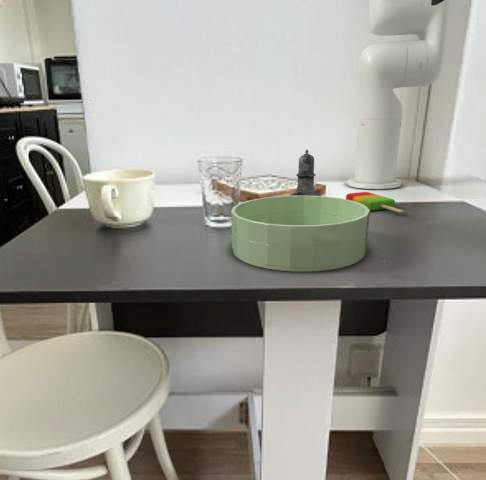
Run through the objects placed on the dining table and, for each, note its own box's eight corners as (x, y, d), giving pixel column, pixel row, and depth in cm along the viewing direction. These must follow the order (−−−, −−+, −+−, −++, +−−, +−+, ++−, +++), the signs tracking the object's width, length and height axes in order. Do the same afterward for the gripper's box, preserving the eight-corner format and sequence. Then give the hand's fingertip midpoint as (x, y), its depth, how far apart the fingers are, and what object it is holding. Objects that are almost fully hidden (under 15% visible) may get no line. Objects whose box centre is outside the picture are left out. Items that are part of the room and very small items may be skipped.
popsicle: (366, 199, 93) (366, 190, 93) (414, 215, 80) (416, 205, 79) (343, 202, 92) (343, 193, 91) (388, 218, 78) (389, 208, 78)
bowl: (236, 231, 74) (236, 196, 72) (351, 230, 72) (354, 194, 70) (227, 271, 57) (226, 226, 55) (379, 272, 54) (384, 225, 52)
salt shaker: (319, 210, 86) (322, 147, 82) (321, 217, 81) (324, 150, 77) (289, 210, 87) (290, 147, 83) (288, 217, 82) (290, 151, 78)
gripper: (567, -166, 52) (534, 2, 58) (414, -149, 54) (398, 11, 60) (614, -208, 45) (571, -12, 51) (436, -187, 47) (415, -1, 53)
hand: (477, 0), depth 55 cm, fingers open, 9 cm apart
